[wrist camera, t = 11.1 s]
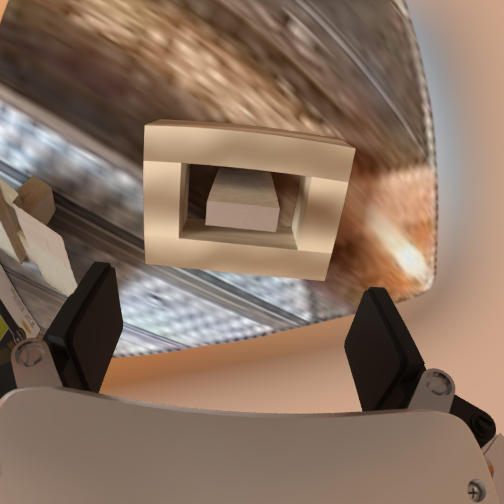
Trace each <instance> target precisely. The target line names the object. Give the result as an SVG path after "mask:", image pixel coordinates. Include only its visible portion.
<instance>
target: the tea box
mask: <svg viewBox="0 0 504 504" xmlns="http://www.w3.org/2000/svg"><path fill="white" fill-rule="evenodd" d="M39 331H40V328H39V326H38V325H37V323H36V322H35V320H34V319H33V317H32V316H31V314H30V313H29V311H28V310H27V308H26V307H25V305H24V303H23V302H22V300H21V299H20V297H19V295H18V294H17V292H16V290H15V289H14V287H13V285H12V284H11V282H10V280H9V278H8V277H7V275H6V273H5V271H4V270H3V268H2V266H1V264H0V365H3V364H5V363H7V362H10V361H11V353H12V350H13V348H14V347H15V346H16V345H17V344H18V343H19V342H20V341H22V340H25V339H28V338H36V336H37V335H38V333H39Z"/></svg>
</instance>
